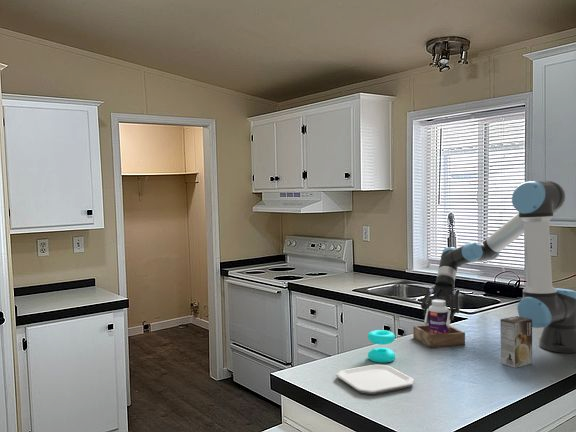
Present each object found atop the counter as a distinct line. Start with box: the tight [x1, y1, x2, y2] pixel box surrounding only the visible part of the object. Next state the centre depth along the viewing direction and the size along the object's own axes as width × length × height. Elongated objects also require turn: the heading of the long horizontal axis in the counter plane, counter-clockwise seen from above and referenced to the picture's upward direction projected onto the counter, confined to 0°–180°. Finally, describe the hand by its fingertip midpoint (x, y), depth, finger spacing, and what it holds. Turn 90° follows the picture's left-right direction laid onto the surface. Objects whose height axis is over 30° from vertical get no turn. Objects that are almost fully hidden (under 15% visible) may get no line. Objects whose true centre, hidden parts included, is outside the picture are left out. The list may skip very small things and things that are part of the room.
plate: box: [335, 363, 415, 395], centre depth 170 cm, size 21×21×2 cm
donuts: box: [367, 329, 396, 364], centre depth 193 cm, size 10×10×10 cm
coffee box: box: [500, 315, 533, 369], centre depth 185 cm, size 9×6×16 cm
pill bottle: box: [428, 298, 450, 335], centre depth 214 cm, size 8×8×14 cm
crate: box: [412, 324, 466, 349], centre depth 214 cm, size 15×15×5 cm
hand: (436, 325), depth 211 cm, fingers closed on pill bottle, 8 cm apart
